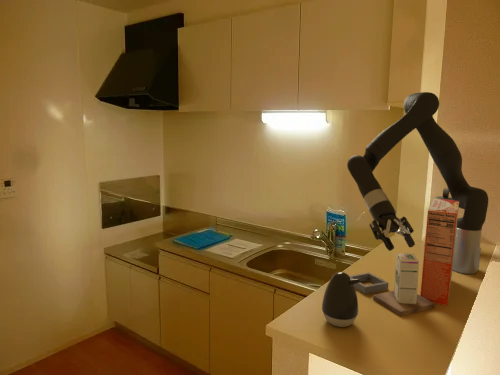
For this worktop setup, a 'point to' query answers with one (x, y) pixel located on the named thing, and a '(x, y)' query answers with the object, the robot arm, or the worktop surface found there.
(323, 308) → the pump dispenser
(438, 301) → the pasta box
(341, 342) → the worktop surface
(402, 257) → the syrup box
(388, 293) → the board
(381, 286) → the holder
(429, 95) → the robot arm
